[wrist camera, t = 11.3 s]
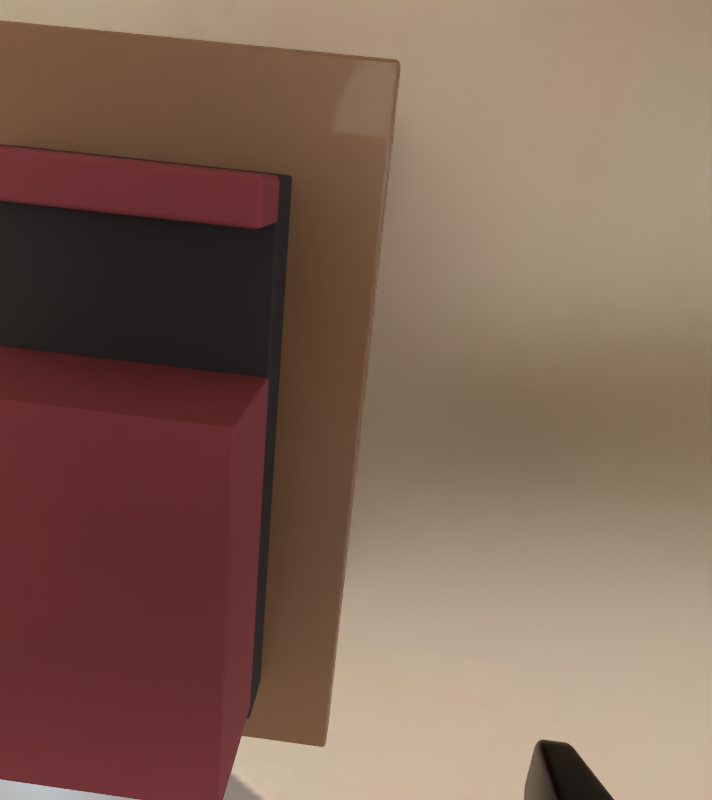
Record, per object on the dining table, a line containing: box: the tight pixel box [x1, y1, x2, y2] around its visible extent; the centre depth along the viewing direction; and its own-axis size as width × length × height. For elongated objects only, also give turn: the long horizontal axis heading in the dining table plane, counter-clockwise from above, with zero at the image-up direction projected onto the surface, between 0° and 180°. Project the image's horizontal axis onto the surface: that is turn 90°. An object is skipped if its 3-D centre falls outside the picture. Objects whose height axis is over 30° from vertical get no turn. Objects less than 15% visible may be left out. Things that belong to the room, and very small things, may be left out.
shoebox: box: [0, 21, 400, 747], centre depth 17 cm, size 9×16×7 cm, turn 174°
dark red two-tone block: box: [0, 144, 292, 800], centre depth 12 cm, size 5×12×4 cm, turn 174°
